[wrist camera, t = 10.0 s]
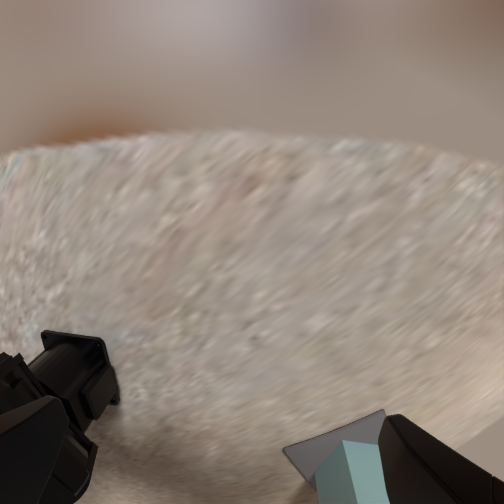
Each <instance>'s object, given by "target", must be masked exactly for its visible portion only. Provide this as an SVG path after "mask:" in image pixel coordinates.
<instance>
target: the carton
mask: <svg viewBox="0 0 504 504" xmlns="http://www.w3.org/2000/svg"><path fill="white" fill-rule="evenodd" d="M315 479H316V486H317V494H318V502H319V504H390V503H389V499H388V496H387V492H386V488H385V482H384V476H383V470H382V464H381V458H380V452H379V447H378V445H373V444H366V443H359V442H352V441H346V440H342V441H341V442H340V443H339V444H338V446H337V447H336V448H335V449H334V450H333V452H332V453H331V454H330V455H329V456H328V458H327V459H326V460H325V461H324V462H323V463H322V464H321V466H320V467H319V468H318V469H317V470H316V471H315Z"/></svg>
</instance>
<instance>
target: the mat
mask: <svg viewBox="0 0 504 504" xmlns="http://www.w3.org/2000/svg"><path fill="white" fill-rule="evenodd" d="M385 417H386V413H385V411H384V409H382V410H380V411H378V412H376V413H374V414H372V415H369V416H367V417H365V418H363V419H360V420H358V421H356V422H354V423H351V424H349V425H346V426H344V427H342V428H339V429H337V430H334V431H332V432H329V433H326V434H324V435H321V436H318V437H316V438H313V439H310V440H307V441H304V442H301V443H298V444H295V445H292V446H289V447H286V448H284V452H285V453H286V454H287V456H288V457H289V458H290V459H291V461H292V462H293V463H294V464H295V466H296V467H297V468H298V469H299V471H300V472H301V473H302V474H303V476H304V477H305V478H306V479H307V481H308V482H309V483H310V484H311V485H312V487H313V488H314V489H315V490H316V491H317V486H316V479H315V471H316V470H317V469H318V468H319V467H320V466H321V464H322V463H323V462H324V461H325V460H326V459H327V458H328V456H329V455H330V454H331V453H332V452H333V450H334V449H335V448H336V447H337V446H338V444H339V443H340V442H341V441H342V440H346V441H352V442H359V443H366V444H373V445H378V437H379V433H380V430H381V427H382V424H383V421H384V418H385Z"/></svg>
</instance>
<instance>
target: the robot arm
mask: <svg viewBox="0 0 504 504" xmlns="http://www.w3.org/2000/svg"><path fill="white" fill-rule="evenodd" d="M46 336H47V337H46ZM41 339H42V342H43V345H44V349H45V350H44V351H43V352H42V353H40V354H39V355H38V356H37V357H36V358H35V359H34V360H32V361H31V362H30V363H29V364H28V365H26V363H25V362H24V358H23V357H22V355H21V354H20V353H18V354H17V355H16V356H14V357H12V355H11V356H9V355H8V354H6V353H5V352H3V353H1V354H0V504H73V503H75V502H76V501H77V500H79V499H80V497H81V496H82V495H83V494H84V493H85V491H86V490H87V488H88V486H89V483H90V479H91V475H92V470H93V466H94V462H95V458H96V454H97V450H98V446H97V445H96V444H95V443H94V442H91V441H90V440H89V439H88V438H87V437H86V436H85V435H84V433H85V431H86V430H87V428H88V427H89V425H90V424H91V422H92V421H93V420H98V419H99V417H100V416H101V414H102V413H103V411H104V410H105V408H106V407H107V405H108V404H109V405H117V404H118V403H119V401H120V399H119V396H118V393H117V386H116V383H115V379H114V376H113V372H112V368H111V365H110V364H109V360H108V356H107V352H106V348H105V344H104V341H103V340H102V339H101V338H99V337H92V336H84V335H76V334H69V333H62V332H55V331H49V330H44V331H43V332H42V333H41ZM96 342H97V343H98V344H99V345H100V346H99V345H97V343H96ZM113 399H114V400H113ZM378 447H379V452H380V458H381V464H382V470H383V476H384V482H385V488H386V492H387V496H388V499H389V503H390V504H504V482H503V481H501V480H500V479H498V478H497V477H495V476H493V477H492V474H490V473H488V472H487V471H485V470H484V469H482V468H481V467H479V466H477V465H476V464H474V463H473V462H471V461H470V460H468V459H467V458H465V457H463V456H462V455H460V454H459V453H457V452H456V451H454V450H453V449H451V448H450V447H448V446H447V445H445V444H444V443H442V442H441V441H439V440H438V439H436V438H435V437H433V436H432V435H430V434H429V433H428V432H426V431H425V430H423V429H422V428H420V427H419V426H417V425H416V424H414V423H413V422H412V421H410V420H409V419H407V418H406V417H404V416H403V415H401V414H395V415H389V416H386V417H385V418H384V421H383V424H382V427H381V430H380V433H379V437H378Z"/></svg>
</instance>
